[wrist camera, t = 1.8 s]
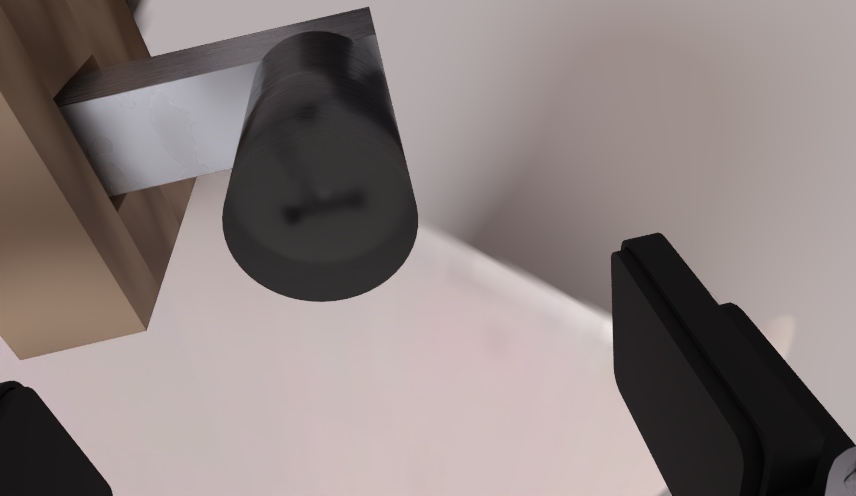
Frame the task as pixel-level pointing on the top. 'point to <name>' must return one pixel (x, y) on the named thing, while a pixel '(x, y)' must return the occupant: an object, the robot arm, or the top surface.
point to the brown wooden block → (71, 189)
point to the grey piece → (267, 148)
